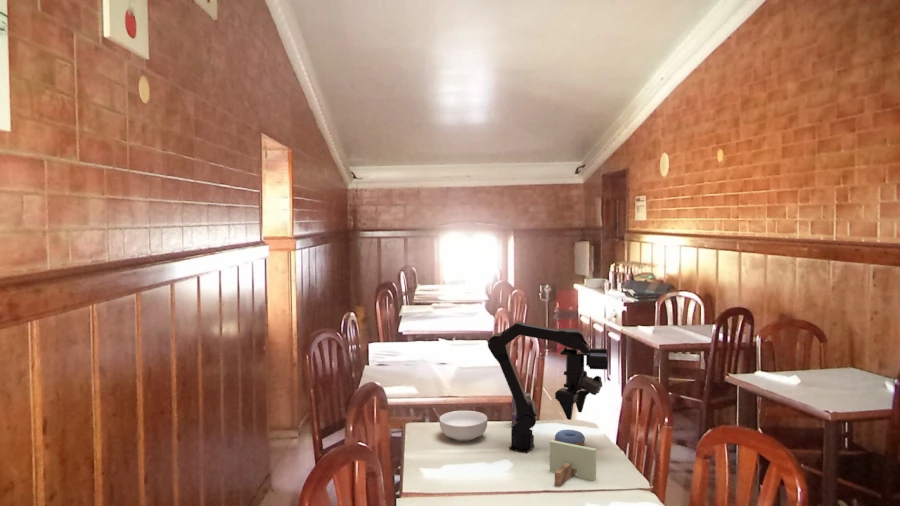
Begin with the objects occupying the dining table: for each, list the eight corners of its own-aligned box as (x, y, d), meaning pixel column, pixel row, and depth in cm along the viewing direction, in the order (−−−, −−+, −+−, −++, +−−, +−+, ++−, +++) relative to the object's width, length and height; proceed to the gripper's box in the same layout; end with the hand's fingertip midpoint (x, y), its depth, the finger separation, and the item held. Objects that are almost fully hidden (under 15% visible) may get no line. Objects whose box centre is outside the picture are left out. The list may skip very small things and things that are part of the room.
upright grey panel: (549, 470, 197) (549, 441, 197) (551, 469, 199) (551, 440, 198) (594, 480, 190) (594, 450, 189) (596, 479, 191) (596, 448, 191)
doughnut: (591, 443, 220) (590, 430, 220) (572, 452, 213) (571, 438, 213) (568, 438, 228) (567, 425, 227) (549, 447, 221) (548, 433, 221)
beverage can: (530, 430, 234) (530, 397, 234) (510, 429, 236) (510, 396, 235) (532, 424, 241) (532, 392, 241) (512, 422, 243) (512, 391, 242)
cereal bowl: (443, 428, 237) (443, 409, 236) (489, 430, 235) (489, 411, 234) (435, 444, 220) (435, 424, 220) (485, 447, 218) (485, 426, 217)
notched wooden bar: (559, 486, 186) (559, 473, 185) (554, 485, 186) (554, 472, 186) (585, 464, 202) (585, 451, 202) (580, 463, 203) (580, 450, 203)
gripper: (588, 377, 199) (588, 428, 200) (608, 365, 215) (608, 412, 216) (554, 373, 205) (554, 421, 206) (576, 361, 221) (576, 407, 222)
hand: (574, 415), depth 212 cm, fingers open, 9 cm apart
